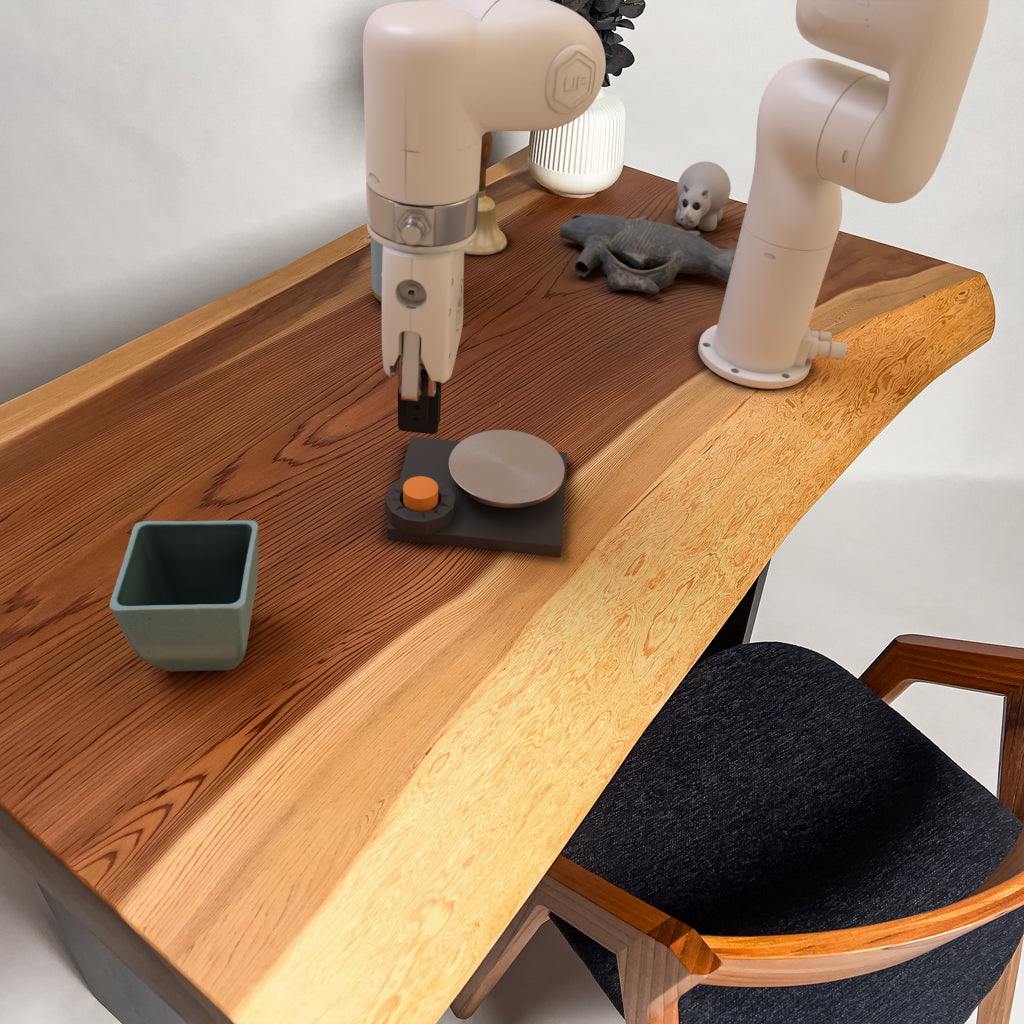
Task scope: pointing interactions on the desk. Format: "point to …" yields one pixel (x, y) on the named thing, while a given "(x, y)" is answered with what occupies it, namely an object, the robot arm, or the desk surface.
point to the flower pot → (188, 593)
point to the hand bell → (486, 212)
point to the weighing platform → (506, 468)
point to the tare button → (420, 494)
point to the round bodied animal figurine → (702, 195)
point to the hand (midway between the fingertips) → (419, 426)
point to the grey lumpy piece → (642, 251)
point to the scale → (470, 510)
